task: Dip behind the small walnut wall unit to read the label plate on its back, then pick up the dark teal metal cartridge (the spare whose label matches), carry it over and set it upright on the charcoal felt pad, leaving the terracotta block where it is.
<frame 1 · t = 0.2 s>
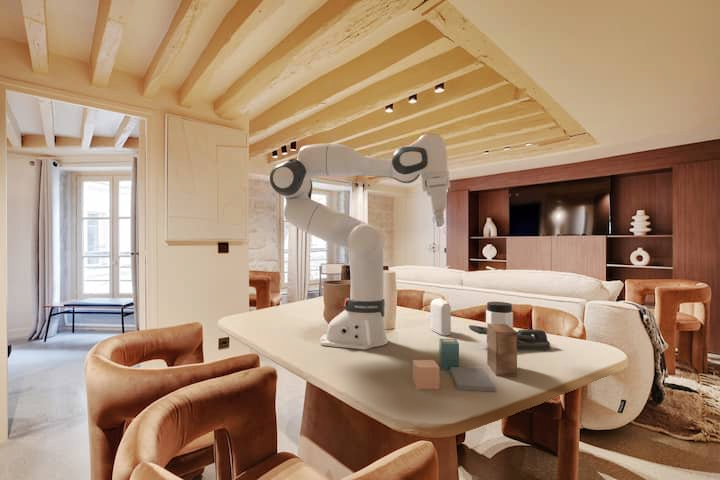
hand: (440, 225, 117), 39 cm above the table, tool pointing down, fingers open, 8 cm apart
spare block: (425, 384, 83), on the table
zipper pull: (509, 348, 114), on the table
jar: (499, 337, 126), on the table
felt pad: (470, 380, 86), on the table
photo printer: (440, 333, 132), on the table
cartridge: (448, 367, 95), on the table
wall unit: (501, 369, 94), on the table
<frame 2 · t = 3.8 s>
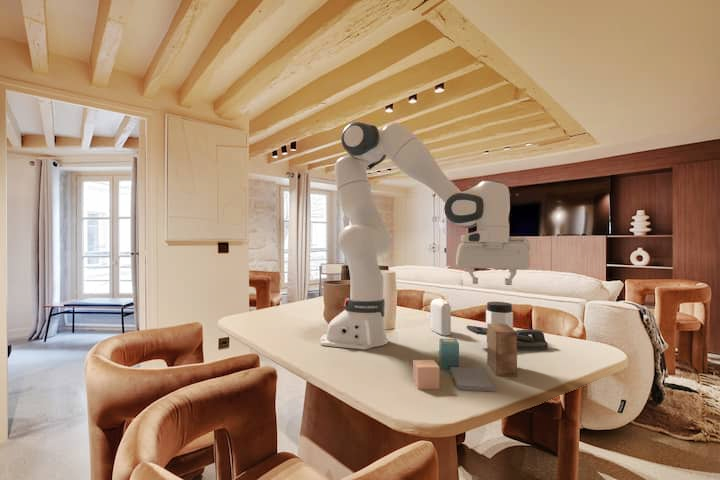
hand: (491, 284, 104), 21 cm above the table, tool pointing down, fingers open, 8 cm apart
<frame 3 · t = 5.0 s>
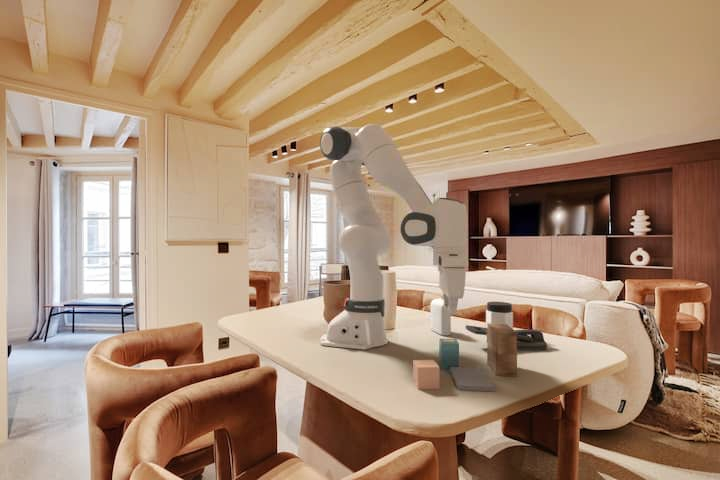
hand: (449, 310, 95), 15 cm above the table, tool pointing down, fingers open, 8 cm apart
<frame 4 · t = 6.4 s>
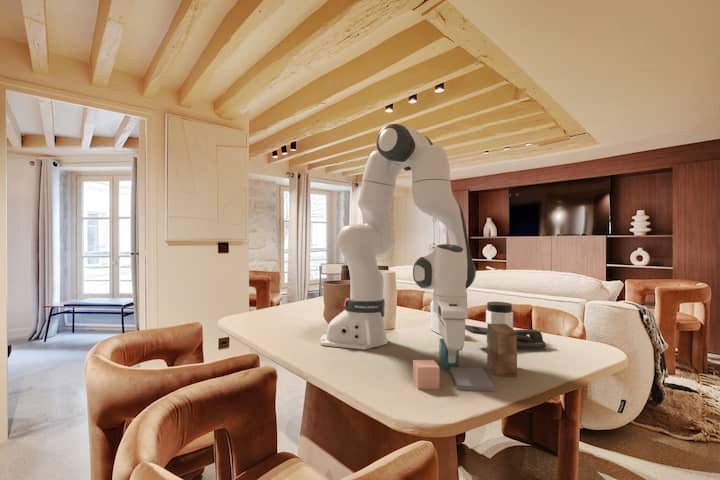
hand: (449, 357, 95), 3 cm above the table, tool pointing down, fingers open, 5 cm apart
cartridge: (448, 367, 95), on the table, touching gripper
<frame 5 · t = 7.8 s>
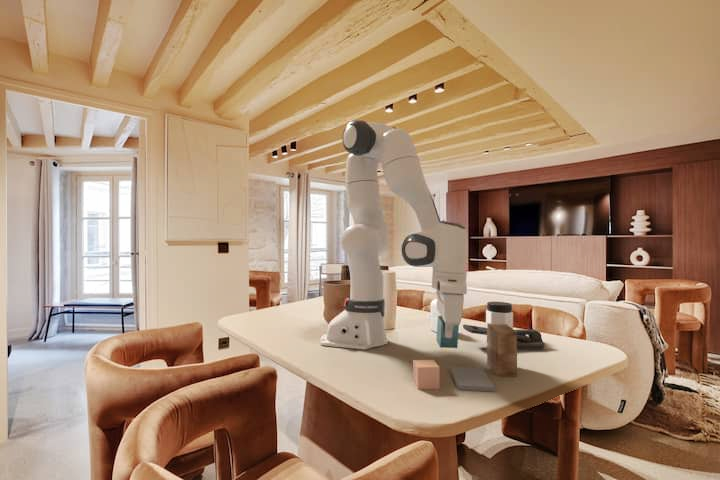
hand: (446, 333, 95), 9 cm above the table, tool pointing down, fingers closed on cartridge, 5 cm apart
cartridge: (446, 344, 96), point 6 cm above the table, tilted 8°, touching gripper
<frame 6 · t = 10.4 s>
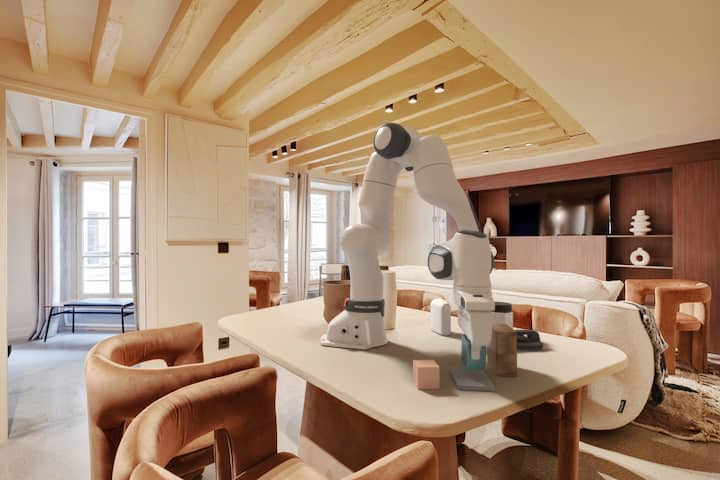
hand: (472, 354, 86), 6 cm above the table, tool pointing down, fingers closed on cartridge, 5 cm apart
cartridge: (473, 365, 87), point 3 cm above the table, tilted 7°, touching gripper
when the fingers open (5 cm above the table, at t = 11.2 s): cartridge stays where it is, resting on felt pad.
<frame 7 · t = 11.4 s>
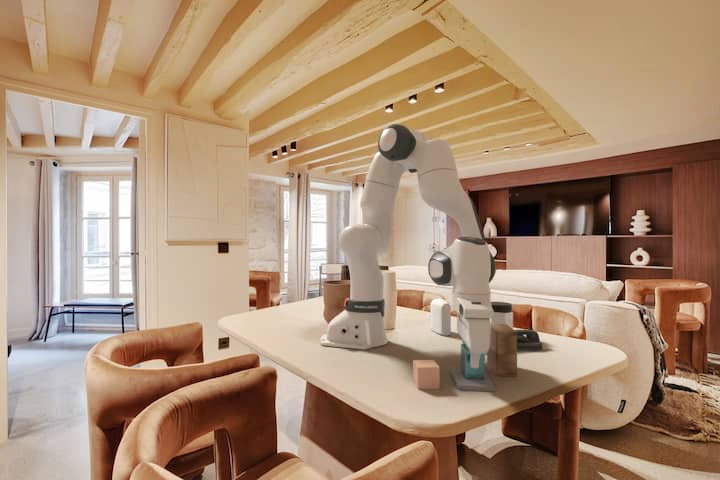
hand: (470, 361, 86), 5 cm above the table, tool pointing down, fingers open, 7 cm apart
cartridge: (472, 376, 86), point 1 cm above the table, touching felt pad
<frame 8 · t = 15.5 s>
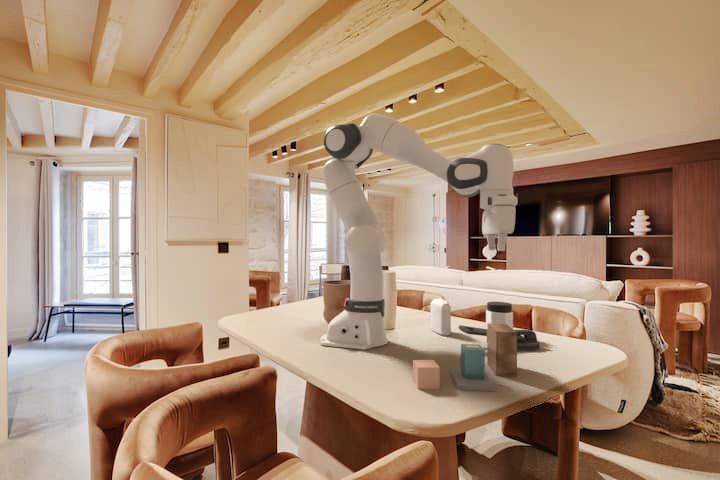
hand: (496, 250, 101), 31 cm above the table, tool pointing down, fingers open, 8 cm apart
at the end: cartridge inside the target area on the felt pad (0.4 cm from its centre), point 1.0 cm above the felt pad's base; cartridge tilted 0°; the gripper is holding nothing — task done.
